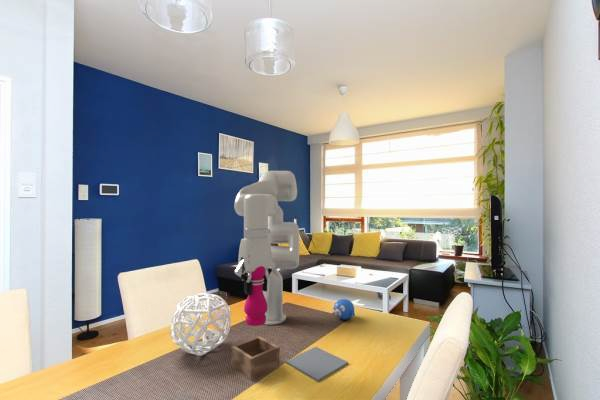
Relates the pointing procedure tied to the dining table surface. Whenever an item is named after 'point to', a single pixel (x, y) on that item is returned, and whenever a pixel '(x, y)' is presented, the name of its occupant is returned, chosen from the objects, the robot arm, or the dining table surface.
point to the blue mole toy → (344, 309)
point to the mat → (316, 363)
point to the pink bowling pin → (256, 299)
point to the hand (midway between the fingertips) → (255, 291)
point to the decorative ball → (215, 339)
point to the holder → (255, 357)
